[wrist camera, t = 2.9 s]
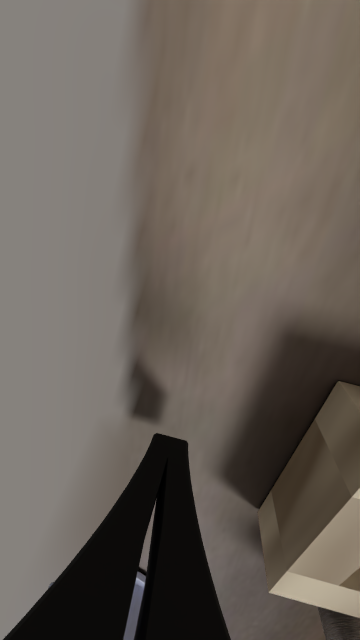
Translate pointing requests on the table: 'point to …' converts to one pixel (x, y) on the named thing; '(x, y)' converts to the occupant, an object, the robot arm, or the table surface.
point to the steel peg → (339, 625)
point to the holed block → (318, 512)
